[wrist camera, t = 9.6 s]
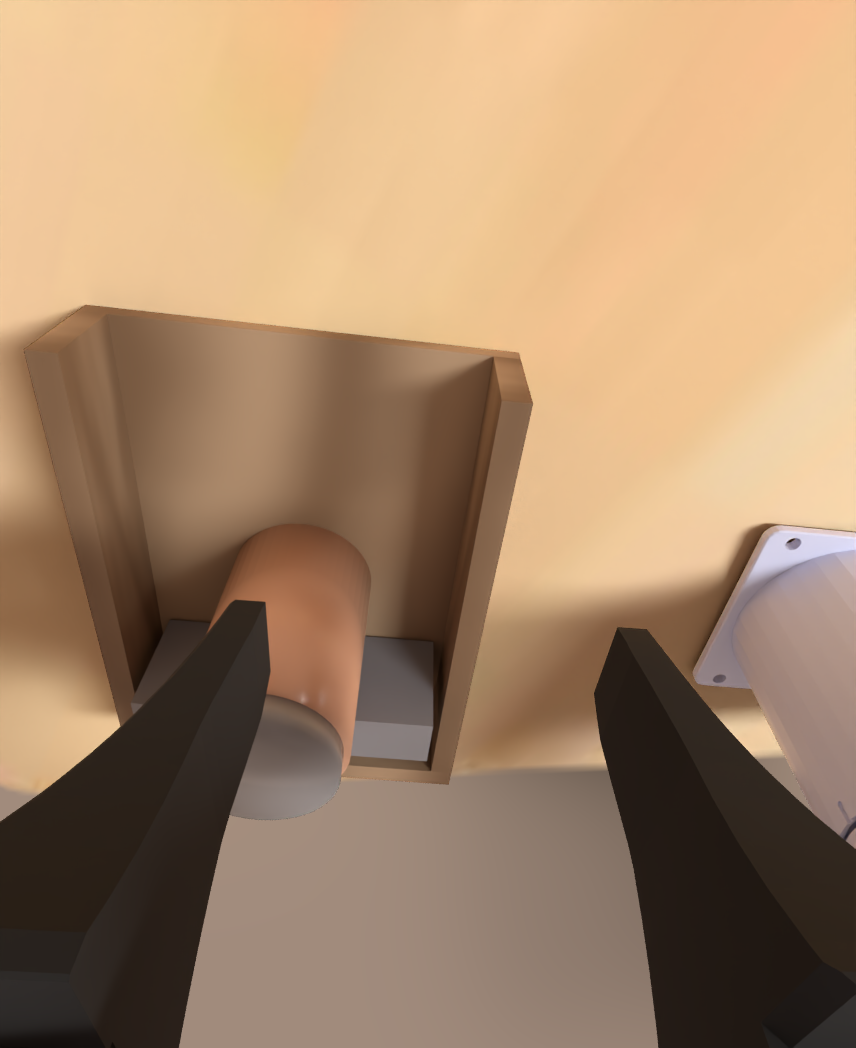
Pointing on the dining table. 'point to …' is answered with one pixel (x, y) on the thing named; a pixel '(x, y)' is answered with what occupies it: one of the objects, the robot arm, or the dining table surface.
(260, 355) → the brown wooden tray
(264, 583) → the jar
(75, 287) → the dining table surface
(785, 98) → the dining table surface
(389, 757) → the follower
